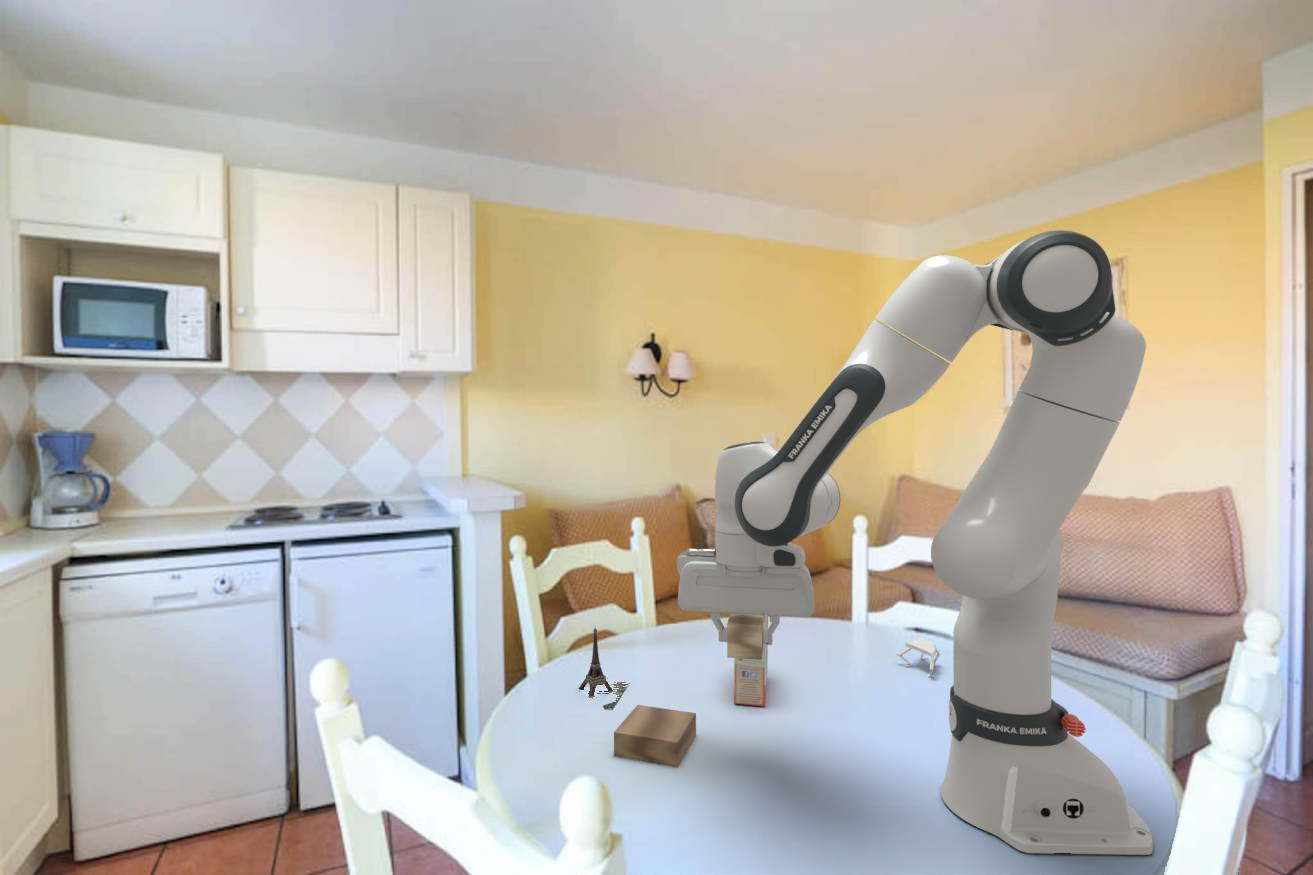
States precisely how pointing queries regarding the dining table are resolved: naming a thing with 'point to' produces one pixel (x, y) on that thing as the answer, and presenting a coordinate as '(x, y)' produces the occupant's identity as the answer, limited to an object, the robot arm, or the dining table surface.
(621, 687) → the eiffel tower figurine
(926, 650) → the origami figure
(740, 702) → the cracker box
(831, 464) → the robot arm
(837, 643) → the dining table surface
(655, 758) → the walnut block
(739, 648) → the maple cube
